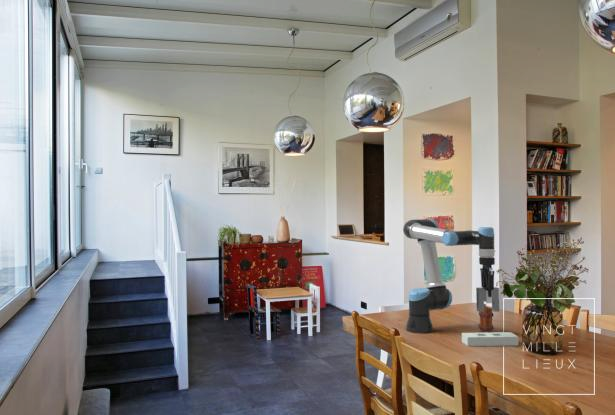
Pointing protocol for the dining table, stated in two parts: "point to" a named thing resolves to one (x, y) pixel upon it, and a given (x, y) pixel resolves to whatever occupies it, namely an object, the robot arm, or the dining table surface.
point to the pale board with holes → (490, 339)
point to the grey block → (482, 296)
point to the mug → (486, 320)
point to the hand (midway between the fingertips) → (487, 302)
